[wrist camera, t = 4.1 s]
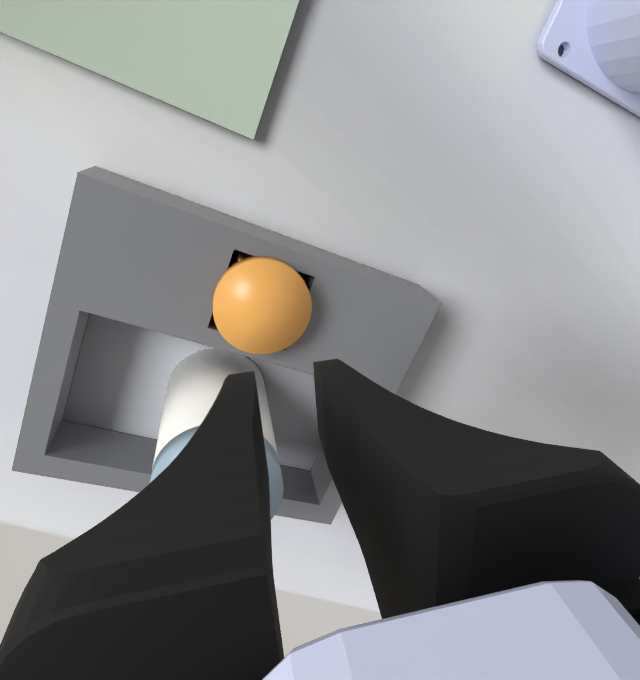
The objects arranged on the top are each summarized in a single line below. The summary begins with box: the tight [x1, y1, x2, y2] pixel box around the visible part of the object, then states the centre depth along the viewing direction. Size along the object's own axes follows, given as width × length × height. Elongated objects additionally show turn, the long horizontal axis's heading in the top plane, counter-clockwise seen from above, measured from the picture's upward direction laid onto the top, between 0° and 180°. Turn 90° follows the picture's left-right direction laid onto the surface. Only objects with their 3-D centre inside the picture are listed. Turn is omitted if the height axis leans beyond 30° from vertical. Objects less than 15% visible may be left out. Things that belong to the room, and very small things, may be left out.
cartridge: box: [150, 348, 283, 519], centre depth 19 cm, size 4×4×7 cm
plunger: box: [213, 250, 312, 354], centre depth 19 cm, size 4×4×3 cm
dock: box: [12, 166, 441, 524], centre depth 21 cm, size 14×12×2 cm
